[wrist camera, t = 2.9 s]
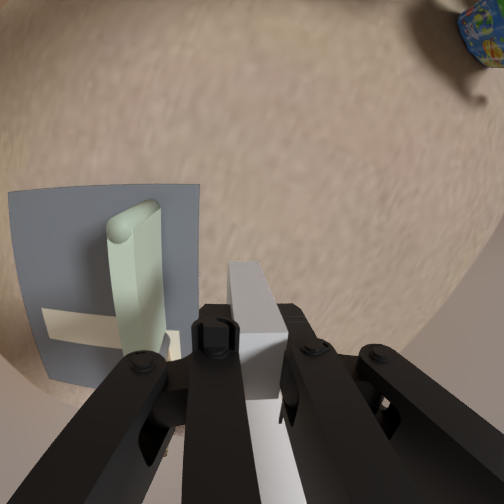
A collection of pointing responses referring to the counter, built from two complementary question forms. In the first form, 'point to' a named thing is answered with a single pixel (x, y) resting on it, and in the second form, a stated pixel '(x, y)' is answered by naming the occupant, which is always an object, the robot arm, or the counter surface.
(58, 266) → the card
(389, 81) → the counter surface
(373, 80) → the counter surface
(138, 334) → the pale green rectangular block
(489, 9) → the snack cup
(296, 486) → the spray bottle
